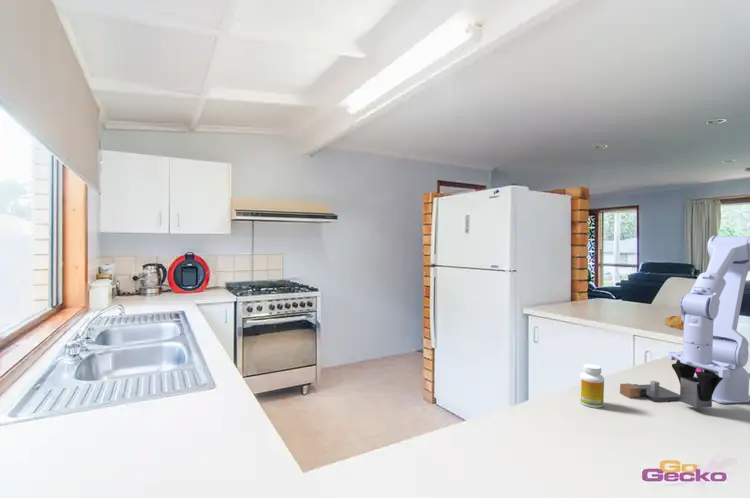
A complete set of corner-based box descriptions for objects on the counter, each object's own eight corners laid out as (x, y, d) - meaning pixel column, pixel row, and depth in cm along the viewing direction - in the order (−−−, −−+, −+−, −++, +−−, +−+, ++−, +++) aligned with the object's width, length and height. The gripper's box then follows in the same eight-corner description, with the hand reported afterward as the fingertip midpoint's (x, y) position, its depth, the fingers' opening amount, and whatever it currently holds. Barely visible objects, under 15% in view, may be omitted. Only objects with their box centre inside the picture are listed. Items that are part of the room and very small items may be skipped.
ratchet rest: (655, 387, 115) (655, 375, 115) (683, 400, 106) (684, 387, 106) (612, 389, 113) (613, 377, 113) (638, 402, 104) (638, 389, 104)
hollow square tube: (694, 399, 103) (695, 376, 103) (711, 407, 99) (712, 382, 99) (679, 400, 102) (680, 377, 102) (696, 408, 98) (696, 383, 98)
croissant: (660, 330, 209) (653, 316, 208) (676, 321, 210) (669, 307, 209) (696, 339, 188) (689, 324, 187) (714, 329, 189) (707, 314, 188)
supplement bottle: (606, 409, 100) (607, 370, 99) (582, 407, 101) (584, 368, 100) (599, 400, 105) (600, 363, 105) (576, 398, 106) (577, 362, 106)
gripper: (658, 335, 107) (657, 386, 107) (712, 351, 92) (710, 409, 93) (682, 335, 108) (680, 385, 108) (738, 350, 93) (736, 408, 94)
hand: (695, 396), depth 101 cm, fingers closed on hollow square tube, 4 cm apart
